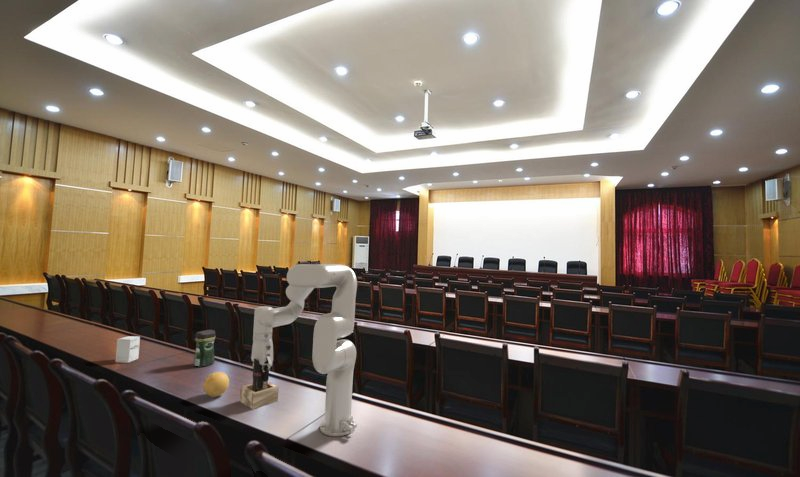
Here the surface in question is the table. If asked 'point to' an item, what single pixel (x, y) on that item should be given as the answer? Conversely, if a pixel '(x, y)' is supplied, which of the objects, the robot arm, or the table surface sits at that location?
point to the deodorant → (258, 377)
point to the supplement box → (127, 349)
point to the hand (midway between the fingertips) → (260, 378)
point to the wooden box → (258, 396)
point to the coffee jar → (204, 348)
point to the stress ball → (216, 384)
